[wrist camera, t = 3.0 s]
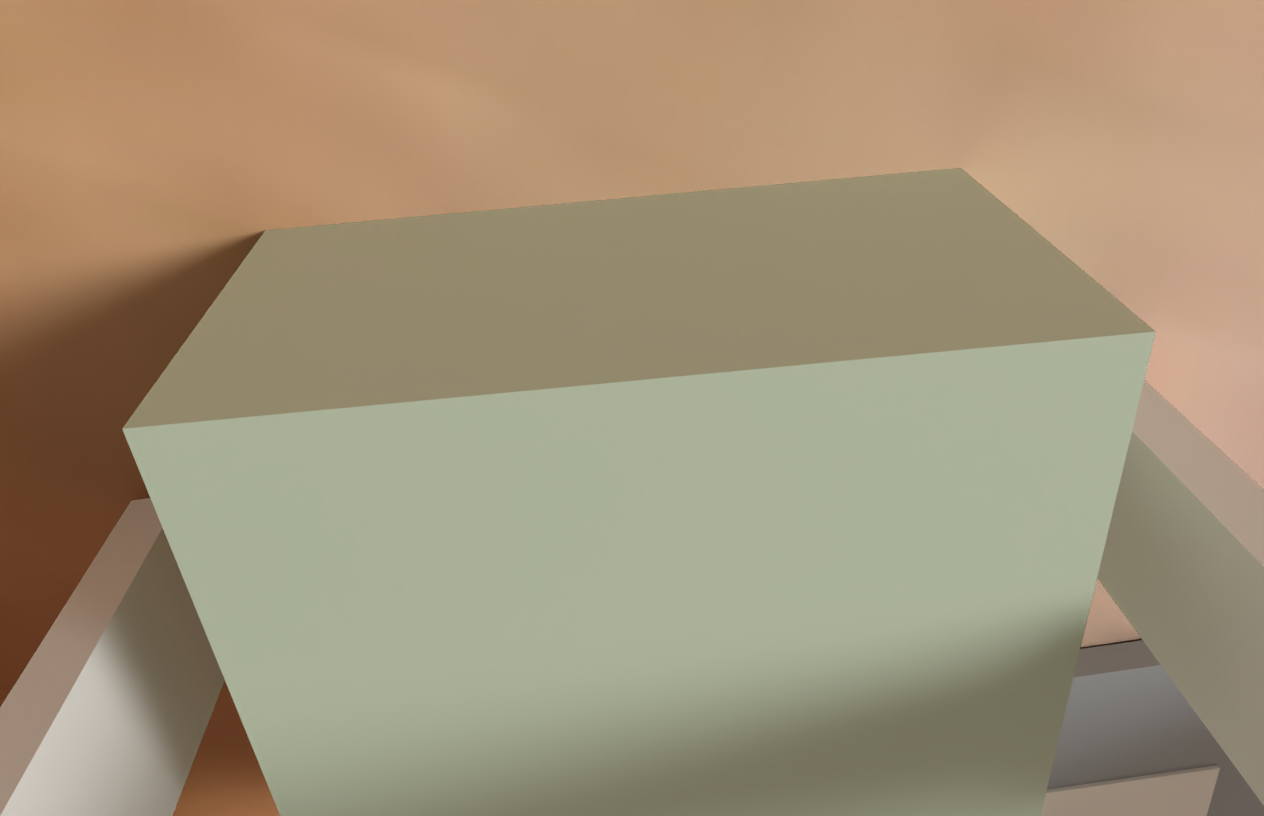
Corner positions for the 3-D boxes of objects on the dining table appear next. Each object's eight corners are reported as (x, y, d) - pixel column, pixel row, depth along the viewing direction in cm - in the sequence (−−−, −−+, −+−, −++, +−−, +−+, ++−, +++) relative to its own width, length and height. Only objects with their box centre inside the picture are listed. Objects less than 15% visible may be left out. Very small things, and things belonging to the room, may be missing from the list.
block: (270, 223, 13) (121, 429, 8) (954, 162, 13) (1155, 331, 8) (403, 703, 17) (352, 993, 13) (902, 653, 17) (1014, 922, 13)
